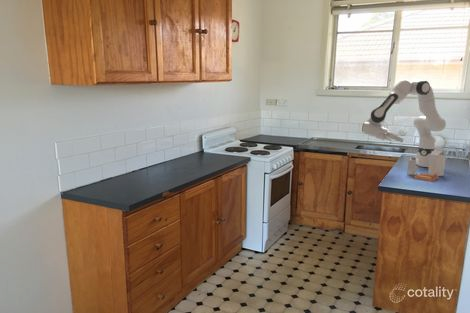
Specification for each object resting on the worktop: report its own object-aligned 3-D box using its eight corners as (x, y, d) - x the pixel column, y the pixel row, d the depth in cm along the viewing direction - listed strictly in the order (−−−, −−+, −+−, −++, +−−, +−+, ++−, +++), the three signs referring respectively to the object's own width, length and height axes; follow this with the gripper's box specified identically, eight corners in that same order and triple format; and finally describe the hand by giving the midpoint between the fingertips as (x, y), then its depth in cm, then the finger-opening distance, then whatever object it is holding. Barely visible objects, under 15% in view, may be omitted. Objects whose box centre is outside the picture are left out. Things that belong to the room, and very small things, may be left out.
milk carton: (435, 176, 269) (438, 149, 266) (427, 174, 276) (430, 148, 272) (443, 176, 271) (446, 149, 267) (435, 173, 278) (439, 147, 274)
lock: (409, 173, 278) (411, 156, 276) (417, 174, 274) (419, 158, 272) (407, 174, 274) (408, 157, 272) (415, 175, 271) (417, 158, 268)
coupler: (419, 175, 272) (420, 169, 271) (438, 178, 264) (438, 172, 263) (413, 178, 262) (413, 172, 261) (432, 181, 254) (433, 175, 253)
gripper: (385, 128, 271) (405, 135, 266) (385, 131, 290) (404, 137, 284) (381, 136, 271) (401, 143, 266) (382, 139, 290) (400, 145, 285)
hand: (402, 140), depth 276 cm, fingers open, 8 cm apart
